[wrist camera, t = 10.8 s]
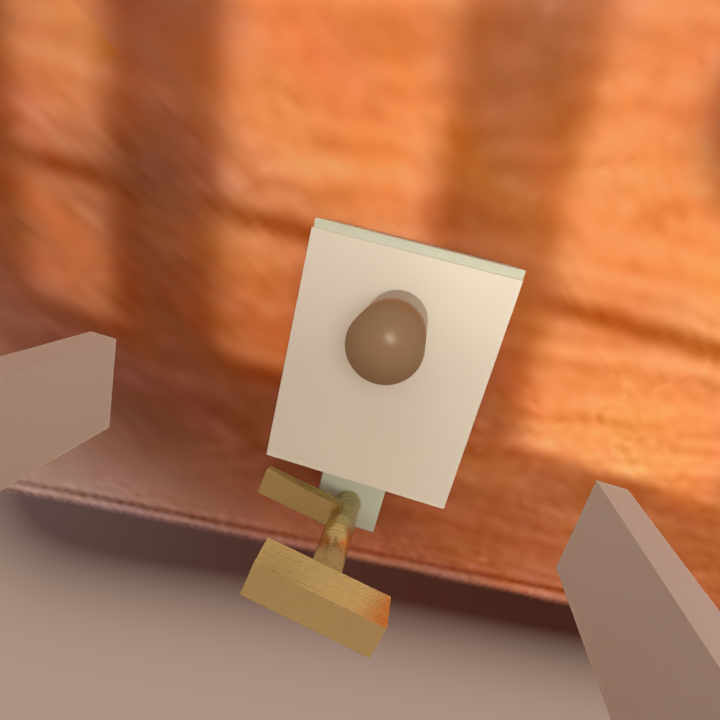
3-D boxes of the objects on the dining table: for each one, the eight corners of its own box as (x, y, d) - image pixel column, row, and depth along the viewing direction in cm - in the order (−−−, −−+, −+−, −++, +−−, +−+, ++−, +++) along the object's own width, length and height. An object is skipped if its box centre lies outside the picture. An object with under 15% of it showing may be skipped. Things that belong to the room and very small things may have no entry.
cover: (272, 447, 35) (221, 512, 26) (316, 227, 30) (270, 223, 21) (443, 499, 33) (445, 585, 25) (519, 279, 28) (553, 296, 20)
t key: (388, 537, 35) (369, 658, 25) (267, 478, 35) (200, 574, 25) (401, 513, 34) (386, 628, 24) (277, 454, 34) (212, 543, 24)
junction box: (287, 455, 43) (259, 496, 36) (337, 221, 36) (315, 217, 29) (429, 499, 41) (428, 550, 35) (508, 264, 35) (525, 270, 28)
